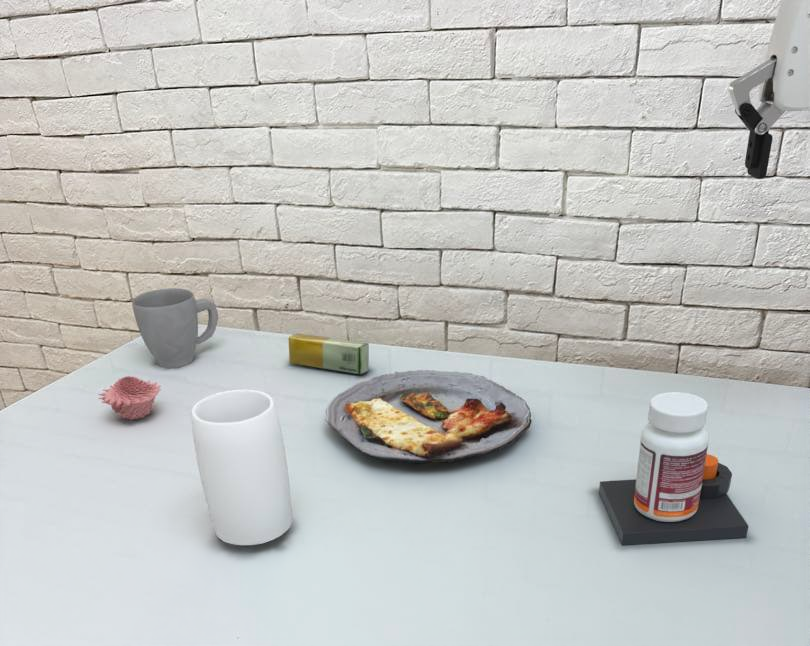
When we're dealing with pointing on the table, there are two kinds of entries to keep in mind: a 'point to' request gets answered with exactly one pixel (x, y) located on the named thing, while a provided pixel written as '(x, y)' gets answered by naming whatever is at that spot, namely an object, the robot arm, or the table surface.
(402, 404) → the food plate
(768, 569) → the table surface
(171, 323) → the mug
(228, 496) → the cup
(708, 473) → the button
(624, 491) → the scale
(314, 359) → the medication box
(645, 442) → the pill bottle
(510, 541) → the table surface
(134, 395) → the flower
